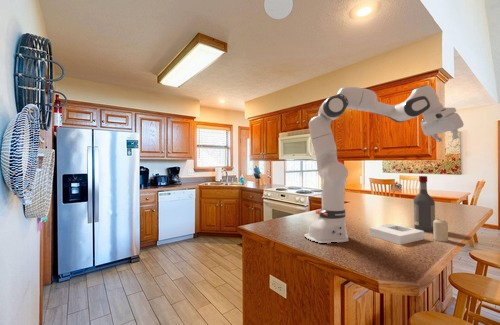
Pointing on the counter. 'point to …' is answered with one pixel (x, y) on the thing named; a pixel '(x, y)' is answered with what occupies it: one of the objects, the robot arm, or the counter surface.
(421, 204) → the liquor
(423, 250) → the counter surface
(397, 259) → the counter surface
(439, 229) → the candle
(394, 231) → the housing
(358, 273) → the counter surface
